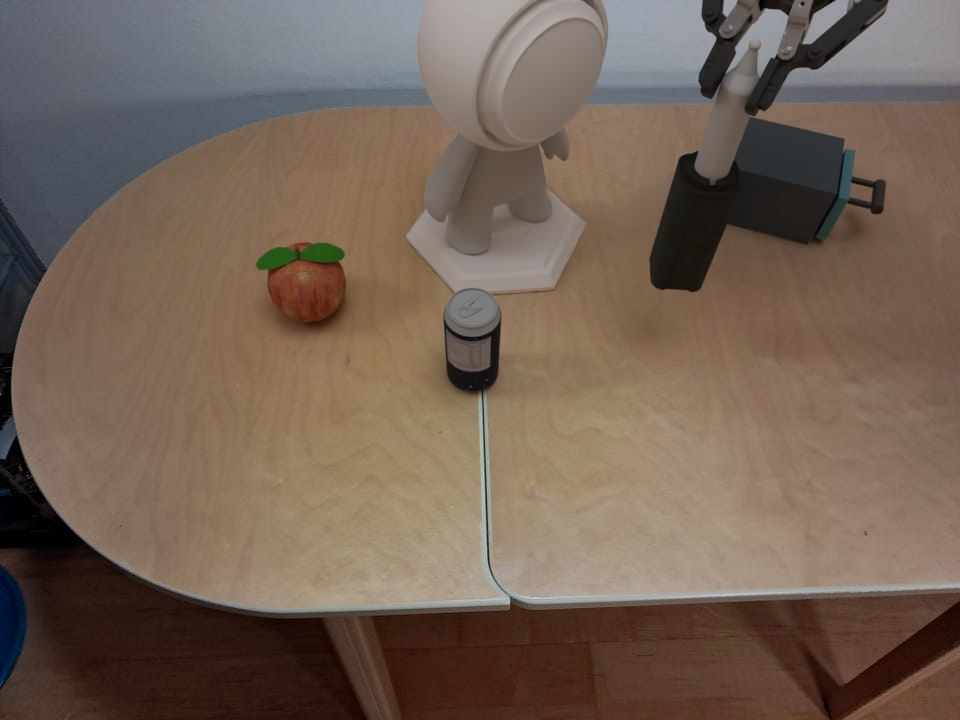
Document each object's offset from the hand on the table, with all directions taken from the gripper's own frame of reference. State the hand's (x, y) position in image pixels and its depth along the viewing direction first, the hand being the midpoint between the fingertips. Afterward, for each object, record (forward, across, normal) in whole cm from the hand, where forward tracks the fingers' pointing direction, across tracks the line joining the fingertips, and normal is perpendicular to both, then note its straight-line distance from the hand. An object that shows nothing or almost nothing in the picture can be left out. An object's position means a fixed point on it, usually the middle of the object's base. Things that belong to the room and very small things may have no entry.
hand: (727, 102), depth 52 cm
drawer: (0, -6, -45) cm, 45 cm away
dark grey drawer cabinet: (+2, -2, -45) cm, 45 cm away
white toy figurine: (+20, +24, -27) cm, 41 cm away
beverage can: (+33, +14, -13) cm, 38 cm away
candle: (+14, 0, -16) cm, 21 cm away
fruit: (+35, +34, -11) cm, 51 cm away
